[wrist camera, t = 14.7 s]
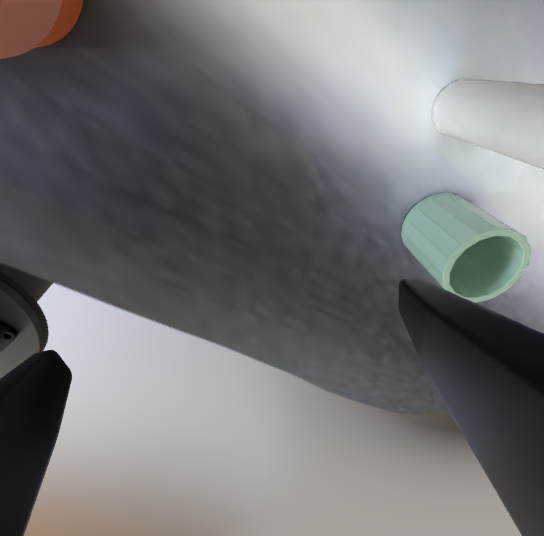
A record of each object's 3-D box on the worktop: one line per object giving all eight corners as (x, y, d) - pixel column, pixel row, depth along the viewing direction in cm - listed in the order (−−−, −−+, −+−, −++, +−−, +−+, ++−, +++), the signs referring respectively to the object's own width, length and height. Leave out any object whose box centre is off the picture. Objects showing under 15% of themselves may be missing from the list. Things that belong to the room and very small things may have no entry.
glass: (418, 266, 24) (461, 316, 19) (388, 222, 22) (428, 265, 17) (479, 228, 23) (540, 271, 18) (453, 177, 21) (515, 211, 16)
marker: (449, 145, 20) (656, 229, 10) (420, 111, 18) (620, 167, 9) (492, 103, 18) (773, 148, 9) (464, 64, 17) (748, 67, 8)
